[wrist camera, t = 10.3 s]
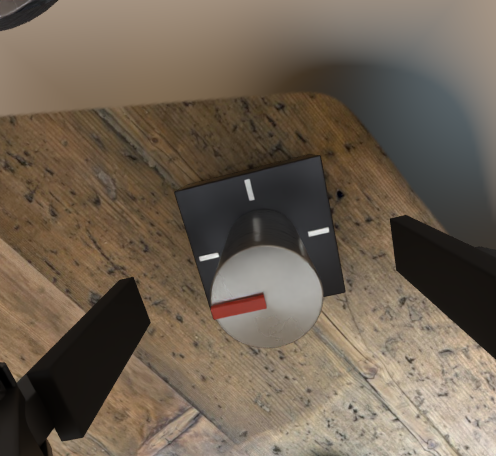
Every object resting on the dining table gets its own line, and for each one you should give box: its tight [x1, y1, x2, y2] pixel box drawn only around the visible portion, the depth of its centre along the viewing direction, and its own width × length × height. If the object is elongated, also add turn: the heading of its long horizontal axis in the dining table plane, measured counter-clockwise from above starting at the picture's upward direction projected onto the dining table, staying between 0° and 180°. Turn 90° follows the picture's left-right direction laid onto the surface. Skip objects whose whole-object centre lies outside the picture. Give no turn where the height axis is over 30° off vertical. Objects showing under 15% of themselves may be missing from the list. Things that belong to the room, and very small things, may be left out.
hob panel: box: [174, 154, 345, 320], centre depth 23 cm, size 10×10×4 cm
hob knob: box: [210, 209, 323, 348], centre depth 17 cm, size 5×5×8 cm
